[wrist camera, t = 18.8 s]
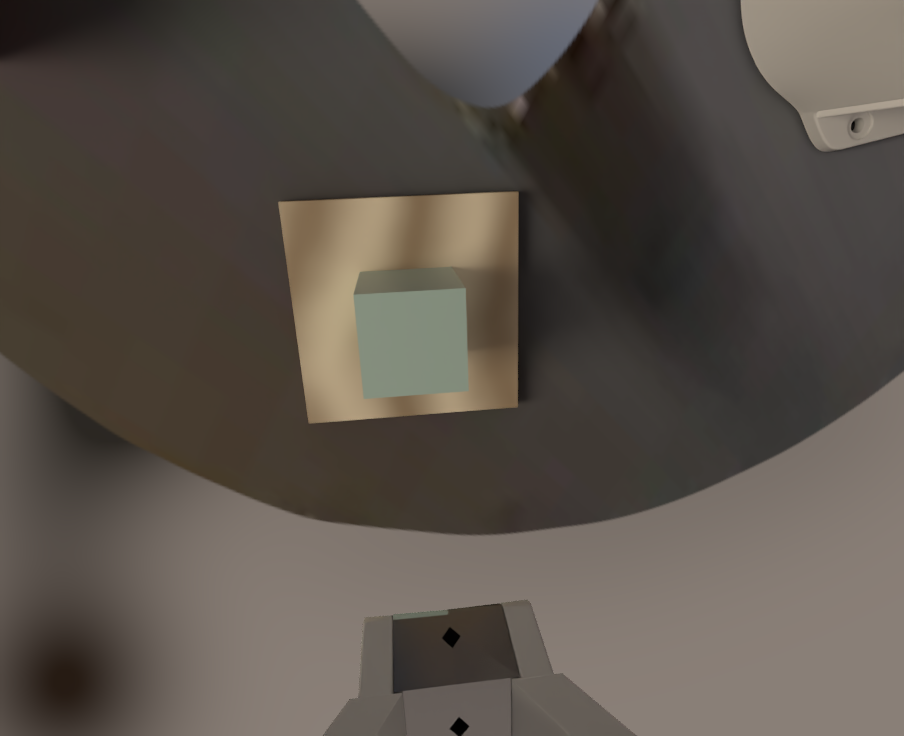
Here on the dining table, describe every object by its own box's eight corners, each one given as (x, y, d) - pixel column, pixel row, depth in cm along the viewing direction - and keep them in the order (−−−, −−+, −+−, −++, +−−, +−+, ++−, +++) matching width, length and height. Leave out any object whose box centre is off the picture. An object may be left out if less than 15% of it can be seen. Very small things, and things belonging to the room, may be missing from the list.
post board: (514, 191, 34) (544, 195, 28) (514, 401, 39) (539, 446, 32) (281, 201, 33) (255, 208, 26) (310, 417, 37) (295, 467, 31)
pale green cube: (451, 266, 34) (465, 288, 28) (454, 353, 36) (468, 391, 30) (359, 271, 34) (353, 294, 27) (367, 359, 36) (363, 399, 29)
